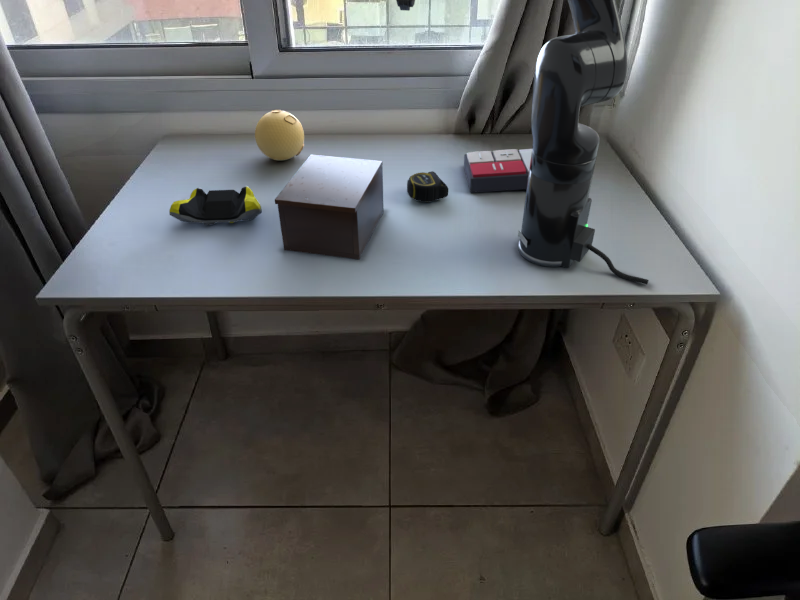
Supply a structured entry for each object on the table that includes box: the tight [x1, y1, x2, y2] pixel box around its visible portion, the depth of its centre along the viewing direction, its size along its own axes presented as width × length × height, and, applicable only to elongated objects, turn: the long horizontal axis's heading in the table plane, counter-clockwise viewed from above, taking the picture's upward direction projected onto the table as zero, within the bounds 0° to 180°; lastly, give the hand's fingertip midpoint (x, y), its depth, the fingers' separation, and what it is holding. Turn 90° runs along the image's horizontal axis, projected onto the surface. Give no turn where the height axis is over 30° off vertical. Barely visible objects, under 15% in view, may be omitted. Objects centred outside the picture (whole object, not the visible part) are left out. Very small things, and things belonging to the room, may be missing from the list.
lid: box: [274, 153, 383, 213], centre depth 100 cm, size 17×13×1 cm
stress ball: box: [254, 109, 305, 161], centre depth 126 cm, size 10×10×10 cm
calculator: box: [463, 148, 532, 194], centre depth 120 cm, size 11×4×15 cm
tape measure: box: [406, 170, 449, 203], centre depth 114 cm, size 7×7×4 cm
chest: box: [277, 165, 385, 260], centre depth 103 cm, size 16×13×9 cm
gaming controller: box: [169, 185, 263, 226], centre depth 107 cm, size 15×6×10 cm
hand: (404, 7), depth 98 cm, fingers closed
